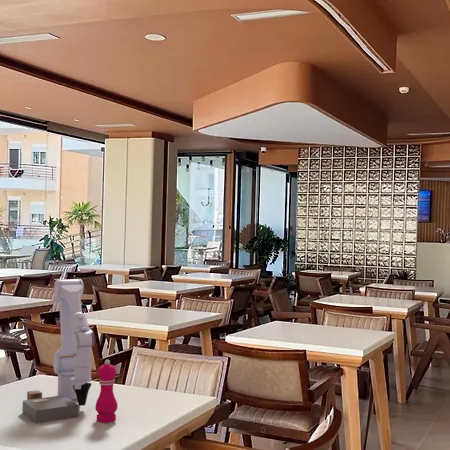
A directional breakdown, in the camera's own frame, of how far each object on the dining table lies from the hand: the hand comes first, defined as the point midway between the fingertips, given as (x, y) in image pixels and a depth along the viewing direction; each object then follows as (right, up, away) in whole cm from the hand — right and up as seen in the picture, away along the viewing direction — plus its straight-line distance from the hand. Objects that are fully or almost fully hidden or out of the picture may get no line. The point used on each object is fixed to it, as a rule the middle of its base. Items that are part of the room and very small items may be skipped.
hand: (81, 405), depth 227 cm
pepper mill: (+10, -2, -11) cm, 15 cm away
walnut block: (-18, -2, +4) cm, 18 cm away
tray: (-8, -1, -6) cm, 10 cm away
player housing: (-10, -2, -6) cm, 12 cm away
